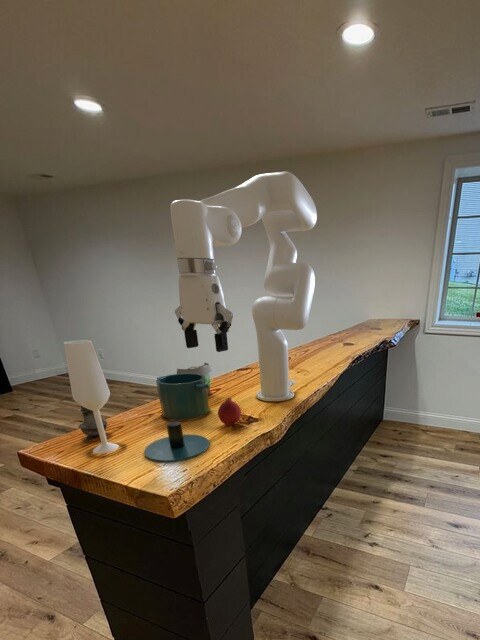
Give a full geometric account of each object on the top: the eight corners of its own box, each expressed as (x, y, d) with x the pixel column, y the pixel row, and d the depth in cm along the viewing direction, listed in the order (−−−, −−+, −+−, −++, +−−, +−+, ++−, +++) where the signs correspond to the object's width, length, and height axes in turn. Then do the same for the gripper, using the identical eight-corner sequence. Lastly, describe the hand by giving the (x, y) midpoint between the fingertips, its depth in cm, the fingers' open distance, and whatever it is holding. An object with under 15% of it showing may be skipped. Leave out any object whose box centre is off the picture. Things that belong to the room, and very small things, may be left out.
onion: (236, 431, 89) (233, 401, 86) (215, 429, 90) (212, 400, 87) (245, 423, 94) (243, 395, 91) (225, 421, 95) (222, 393, 92)
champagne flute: (122, 442, 83) (97, 338, 73) (124, 452, 77) (98, 342, 68) (88, 448, 79) (58, 341, 70) (89, 460, 74) (55, 345, 65)
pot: (182, 403, 110) (177, 370, 106) (225, 412, 102) (221, 377, 98) (147, 414, 100) (140, 379, 96) (191, 426, 92) (185, 388, 88)
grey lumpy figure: (81, 444, 81) (66, 395, 76) (83, 435, 86) (70, 388, 81) (110, 440, 84) (97, 392, 79) (111, 431, 88) (99, 385, 84)
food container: (193, 402, 111) (188, 371, 107) (180, 399, 114) (175, 368, 110) (221, 392, 121) (218, 364, 117) (209, 390, 124) (205, 362, 120)
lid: (182, 434, 87) (177, 409, 84) (222, 445, 81) (219, 419, 78) (131, 455, 76) (125, 427, 73) (173, 470, 70) (168, 440, 67)
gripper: (239, 269, 74) (246, 350, 81) (183, 270, 82) (194, 344, 89) (213, 267, 68) (222, 355, 75) (155, 268, 76) (169, 348, 83)
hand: (207, 349), depth 82 cm, fingers open, 9 cm apart
